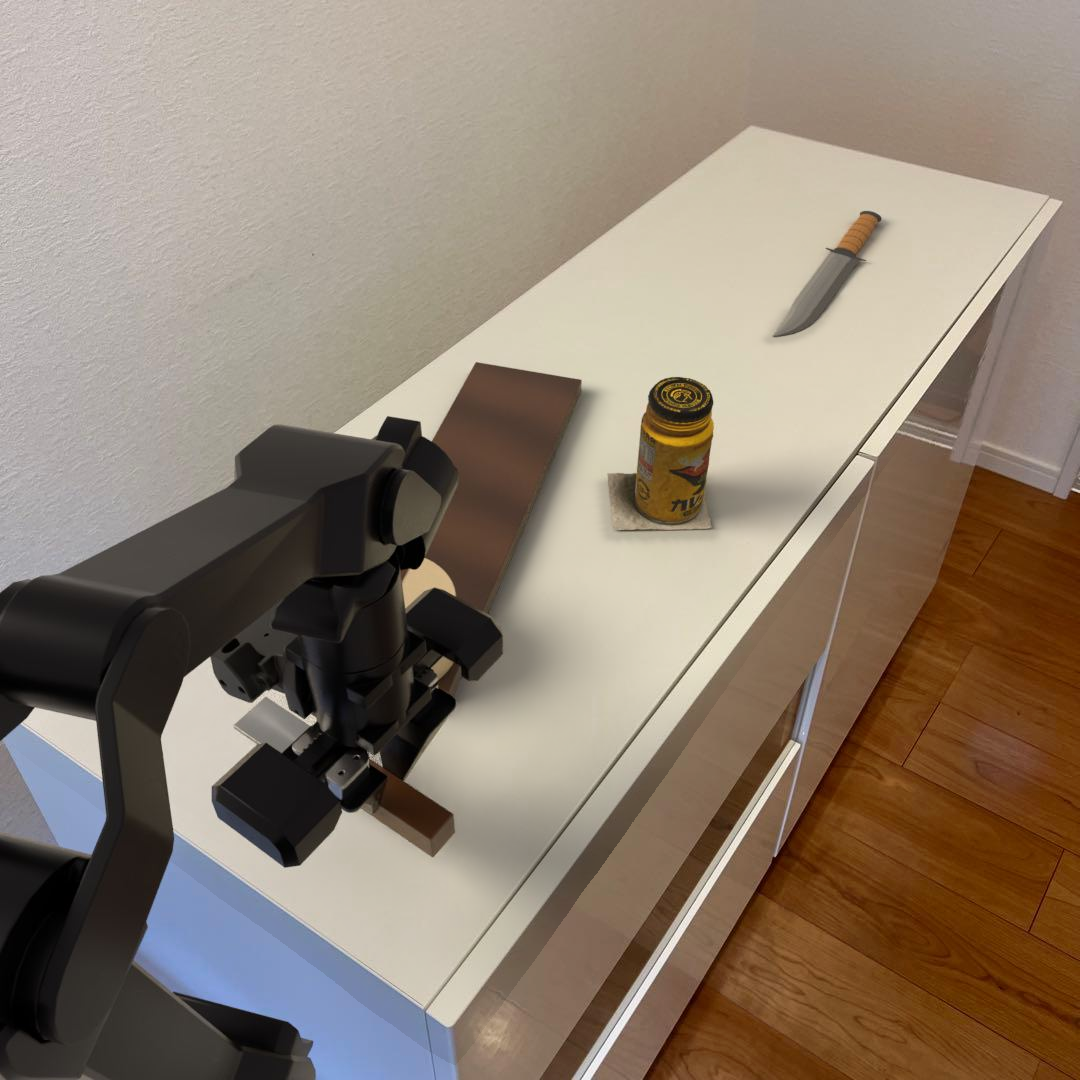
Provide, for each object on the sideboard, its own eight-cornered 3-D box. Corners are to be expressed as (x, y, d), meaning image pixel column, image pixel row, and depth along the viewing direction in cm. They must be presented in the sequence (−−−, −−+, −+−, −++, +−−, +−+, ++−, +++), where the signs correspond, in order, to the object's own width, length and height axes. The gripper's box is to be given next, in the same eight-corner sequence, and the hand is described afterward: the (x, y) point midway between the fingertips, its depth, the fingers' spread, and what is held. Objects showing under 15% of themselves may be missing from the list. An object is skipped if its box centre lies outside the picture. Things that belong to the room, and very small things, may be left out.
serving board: (450, 703, 80) (449, 691, 78) (312, 671, 82) (309, 659, 81) (581, 391, 107) (581, 379, 106) (476, 373, 109) (475, 361, 108)
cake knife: (459, 827, 67) (458, 808, 66) (429, 863, 65) (426, 844, 64) (266, 699, 74) (261, 679, 73) (234, 728, 72) (227, 708, 71)
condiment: (711, 529, 93) (729, 419, 85) (613, 531, 93) (621, 421, 84) (699, 474, 98) (715, 365, 90) (606, 476, 98) (614, 366, 90)
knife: (807, 343, 113) (763, 328, 114) (805, 353, 113) (761, 337, 115) (895, 216, 131) (856, 204, 132) (892, 225, 132) (853, 213, 133)
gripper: (359, 478, 65) (384, 644, 76) (109, 673, 55) (179, 835, 65) (506, 554, 61) (510, 719, 72) (264, 784, 50) (312, 938, 61)
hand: (381, 794), depth 68 cm, fingers closed on cake knife, 2 cm apart
